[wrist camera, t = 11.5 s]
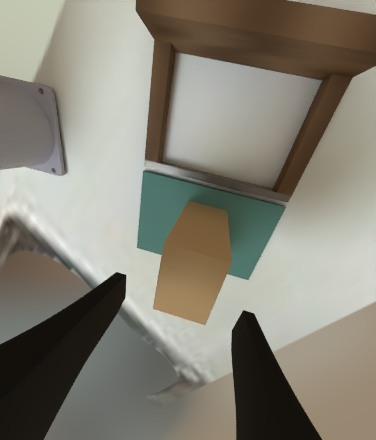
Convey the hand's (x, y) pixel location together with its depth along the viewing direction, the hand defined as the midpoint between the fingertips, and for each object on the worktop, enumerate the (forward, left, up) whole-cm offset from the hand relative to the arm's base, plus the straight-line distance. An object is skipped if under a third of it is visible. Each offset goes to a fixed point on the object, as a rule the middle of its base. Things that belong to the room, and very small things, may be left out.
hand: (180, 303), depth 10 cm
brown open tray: (0, +10, -9) cm, 14 cm away
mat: (0, 0, -9) cm, 9 cm away
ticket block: (0, 0, -9) cm, 9 cm away
